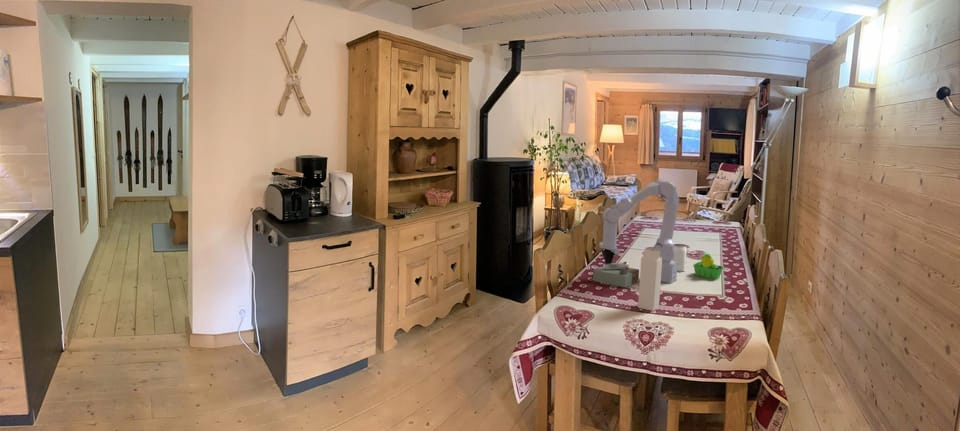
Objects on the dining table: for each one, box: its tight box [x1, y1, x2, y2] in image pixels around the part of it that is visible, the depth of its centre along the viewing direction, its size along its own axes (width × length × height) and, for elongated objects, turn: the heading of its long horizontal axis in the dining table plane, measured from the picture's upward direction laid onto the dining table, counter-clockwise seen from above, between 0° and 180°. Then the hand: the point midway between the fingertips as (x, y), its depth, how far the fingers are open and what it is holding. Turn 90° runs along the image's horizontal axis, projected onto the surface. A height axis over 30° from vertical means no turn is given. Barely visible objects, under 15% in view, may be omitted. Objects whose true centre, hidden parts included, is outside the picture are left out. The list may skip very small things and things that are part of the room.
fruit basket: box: [692, 253, 725, 280], centre depth 249 cm, size 11×9×11 cm
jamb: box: [600, 265, 640, 285], centre depth 244 cm, size 15×6×5 cm, turn 51°
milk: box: [637, 249, 662, 312], centre depth 207 cm, size 6×6×22 cm
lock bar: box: [602, 261, 630, 269], centre depth 241 cm, size 11×3×3 cm, turn 98°
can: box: [672, 243, 687, 273], centre depth 259 cm, size 6×6×12 cm
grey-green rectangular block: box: [592, 266, 633, 288], centre depth 239 cm, size 15×6×7 cm, turn 51°
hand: (608, 266), depth 243 cm, fingers closed, pressing on lock bar
